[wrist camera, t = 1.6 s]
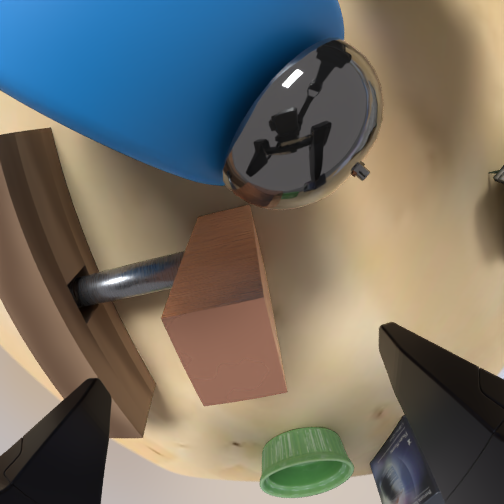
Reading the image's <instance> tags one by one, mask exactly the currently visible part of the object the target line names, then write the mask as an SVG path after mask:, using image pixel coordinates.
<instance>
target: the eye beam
mask: <svg viewBox="0 0 504 504" xmlns="http://www.w3.org/2000/svg"><path fill="white" fill-rule="evenodd" d="M98 272H99V271H98V269H97V266H96V264H95V262H94V259H93V257H92V254H91V252H90V249H89V247H88V244H87V242H86V239H85V237H84V234H83V231H82V229H81V226H80V223H79V220H78V218H77V215H76V212H75V209H74V206H73V203H72V200H71V197H70V194H69V191H68V188H67V185H66V182H65V178H64V175H63V172H62V168H61V165H60V162H59V158H58V154H57V151H56V147H55V143H54V139H53V135H52V131H51V128H44V129H36V130H28V131H21V132H15V133H9V134H3V135H0V299H1V300H2V302H3V304H4V306H5V308H6V310H7V312H8V314H9V316H10V317H11V319H12V321H13V323H14V325H15V326H16V328H17V330H18V331H19V333H20V335H21V337H22V338H23V340H24V341H25V343H26V345H27V346H28V348H29V350H30V351H31V353H32V354H33V356H34V357H35V359H36V360H37V362H38V363H39V365H40V366H41V368H42V369H43V371H44V372H45V374H46V375H47V376H48V378H49V379H50V381H51V382H52V383H53V385H54V386H55V387H56V389H57V390H58V392H59V393H60V394H61V395H62V397H63V398H64V399H65V398H66V397H67V396H69V395H70V394H71V393H72V392H73V391H74V390H75V389H76V388H77V387H79V386H80V385H81V384H82V383H83V382H84V381H85V380H87V379H88V378H99V379H100V380H101V381H102V383H103V384H104V386H105V387H106V389H107V390H108V391H109V393H110V395H111V398H112V404H111V417H110V433H109V438H143V435H144V430H145V426H146V422H147V417H148V413H149V409H150V405H151V400H152V396H153V392H154V388H155V384H156V383H155V382H154V380H153V378H152V377H151V375H150V373H149V371H148V370H147V368H146V366H145V364H144V363H143V361H142V359H141V357H140V355H139V354H138V352H137V350H136V348H135V346H134V344H133V342H132V340H131V339H130V337H129V335H128V333H127V331H126V329H125V327H124V325H123V323H122V321H121V319H120V317H119V315H118V313H117V311H116V309H115V307H114V304H113V302H112V301H110V302H105V303H100V304H95V305H90V306H85V307H80V308H78V307H77V305H76V303H75V301H74V299H73V296H72V294H71V292H70V290H69V288H68V286H67V285H68V284H69V282H70V281H71V280H72V279H74V278H78V277H82V276H86V275H90V274H94V273H98Z"/></svg>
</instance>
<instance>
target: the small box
mask: <svg viewBox="0 0 504 504" xmlns="http://www.w3.org/2000/svg"><path fill="white" fill-rule="evenodd" d="M370 466H371V469H372V472H373V475H374V479H375V482H376V485H377V488H378V492H379V495H380V498H381V502H382V504H445V501H444V500H443V497H442V495H441V492H440V490H439V488H438V485H437V483H436V481H435V478H434V476H433V474H432V472H431V469H430V467H429V465H428V463H427V460H426V458H425V456H424V454H423V452H422V449H421V447H420V445H419V443H418V441H417V439H416V436H415V434H414V432H413V430H412V428H411V426H410V424H409V422H408V420H407V418H406V415H404V416H403V417H402V419H401V421H400V422H399V424H398V425H397V427H396V428H395V430H394V431H393V433H392V434H391V435H390V437H389V438H388V440H387V441H386V442H385V444H384V445H383V447H382V448H381V449H380V451H379V452H378V453H377V455H376V456H375V457H374V459H373V460H372V461H371V463H370Z"/></svg>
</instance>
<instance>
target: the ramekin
mask: <svg viewBox="0 0 504 504" xmlns="http://www.w3.org/2000/svg"><path fill="white" fill-rule="evenodd" d="M353 471H354V466H353V464H352V462H351V460H350V459H349V458H348V456H347V454H346V451H345V449H344V446H343V444H342V441H341V439H340V437H339V436H338V434H337V433H335V432H334V431H332V430H329V429H326V428H321V427H306V428H299V429H294V430H290V431H287V432H284V433H282V434H280V435H278V436H276V437H274V438H273V439H271V440H270V441H269V442H268V443H267V444H266V445H265V447H264V448H263V452H262V476H261V478H260V487H261V489H262V490H263V491H264V492H265V493H267V494H269V495H272V496H276V497H282V498H299V497H307V496H312V495H317V494H320V493H323V492H326V491H329V490H331V489H333V488H335V487H337V486H339V485H341V484H342V483H344V482H345V481H346V480H348V479H349V478H350V476H351V475H352V474H353Z"/></svg>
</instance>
